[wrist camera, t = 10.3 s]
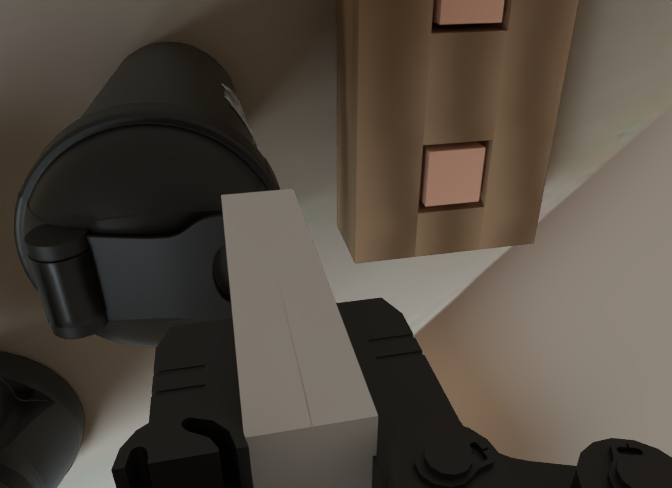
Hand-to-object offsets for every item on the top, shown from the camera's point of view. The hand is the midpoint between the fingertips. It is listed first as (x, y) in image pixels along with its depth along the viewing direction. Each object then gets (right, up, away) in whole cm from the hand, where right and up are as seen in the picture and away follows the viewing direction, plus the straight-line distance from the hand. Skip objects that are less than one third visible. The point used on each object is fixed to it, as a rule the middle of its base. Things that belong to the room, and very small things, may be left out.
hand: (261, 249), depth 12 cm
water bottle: (-9, +10, +27) cm, 30 cm away
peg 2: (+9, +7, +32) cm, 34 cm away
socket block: (+9, +13, +29) cm, 33 cm away
